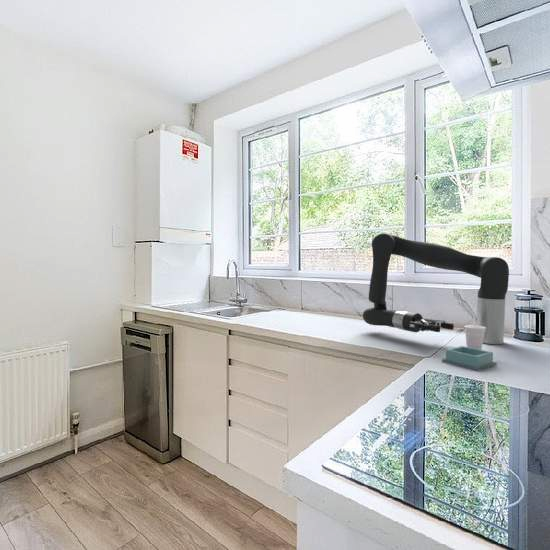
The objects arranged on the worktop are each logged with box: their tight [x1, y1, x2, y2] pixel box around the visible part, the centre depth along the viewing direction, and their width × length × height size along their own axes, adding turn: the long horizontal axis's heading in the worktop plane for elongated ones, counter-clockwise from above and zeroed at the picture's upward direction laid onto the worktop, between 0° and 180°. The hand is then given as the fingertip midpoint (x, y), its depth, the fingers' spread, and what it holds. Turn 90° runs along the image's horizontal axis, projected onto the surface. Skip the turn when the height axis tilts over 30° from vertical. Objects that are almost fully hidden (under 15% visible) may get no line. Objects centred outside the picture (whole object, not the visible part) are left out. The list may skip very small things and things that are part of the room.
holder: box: [441, 345, 497, 372], centre depth 108 cm, size 11×11×4 cm
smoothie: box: [463, 313, 486, 350], centre depth 117 cm, size 6×6×14 cm
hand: (446, 328), depth 125 cm, fingers open, 8 cm apart
